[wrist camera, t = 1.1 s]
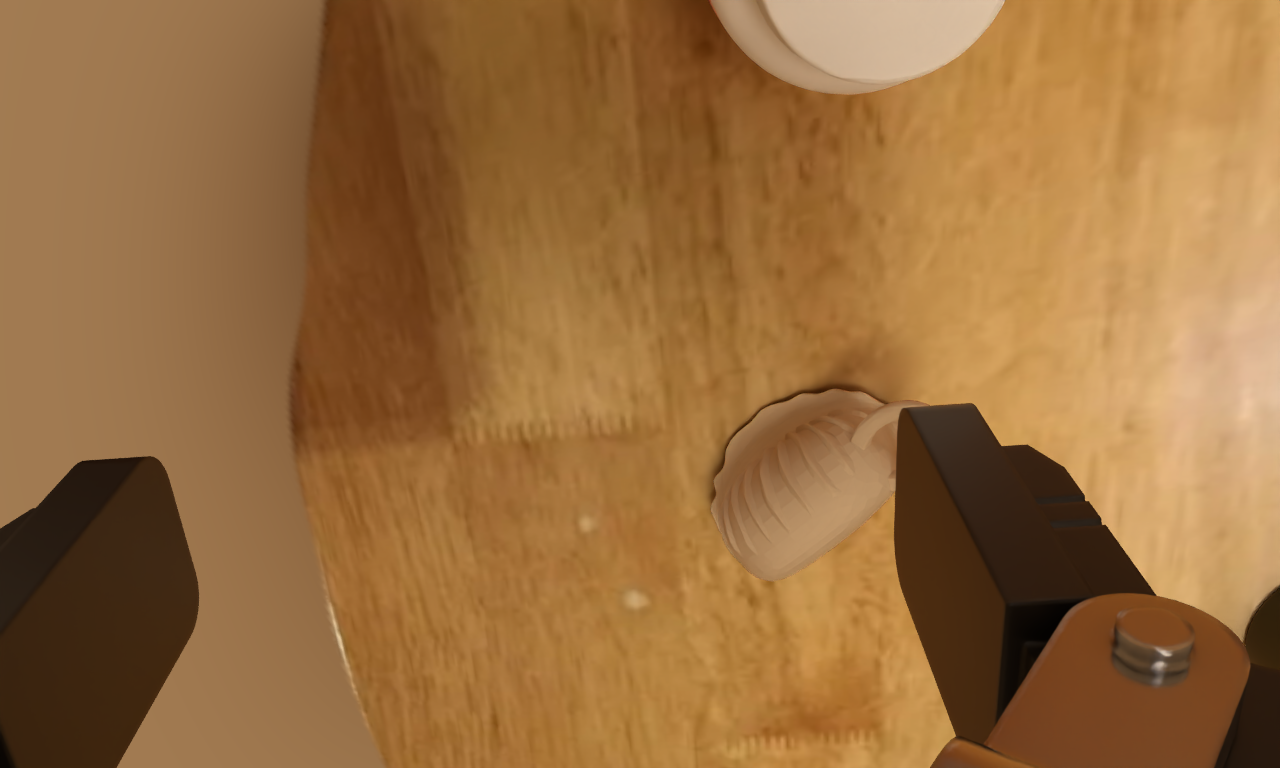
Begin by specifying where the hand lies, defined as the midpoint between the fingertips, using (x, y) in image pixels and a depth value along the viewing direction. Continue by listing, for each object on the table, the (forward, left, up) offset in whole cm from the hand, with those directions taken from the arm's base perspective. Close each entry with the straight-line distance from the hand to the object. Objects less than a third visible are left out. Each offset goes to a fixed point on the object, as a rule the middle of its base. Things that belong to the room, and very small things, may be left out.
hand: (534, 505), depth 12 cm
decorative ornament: (+13, +2, -21) cm, 25 cm away
